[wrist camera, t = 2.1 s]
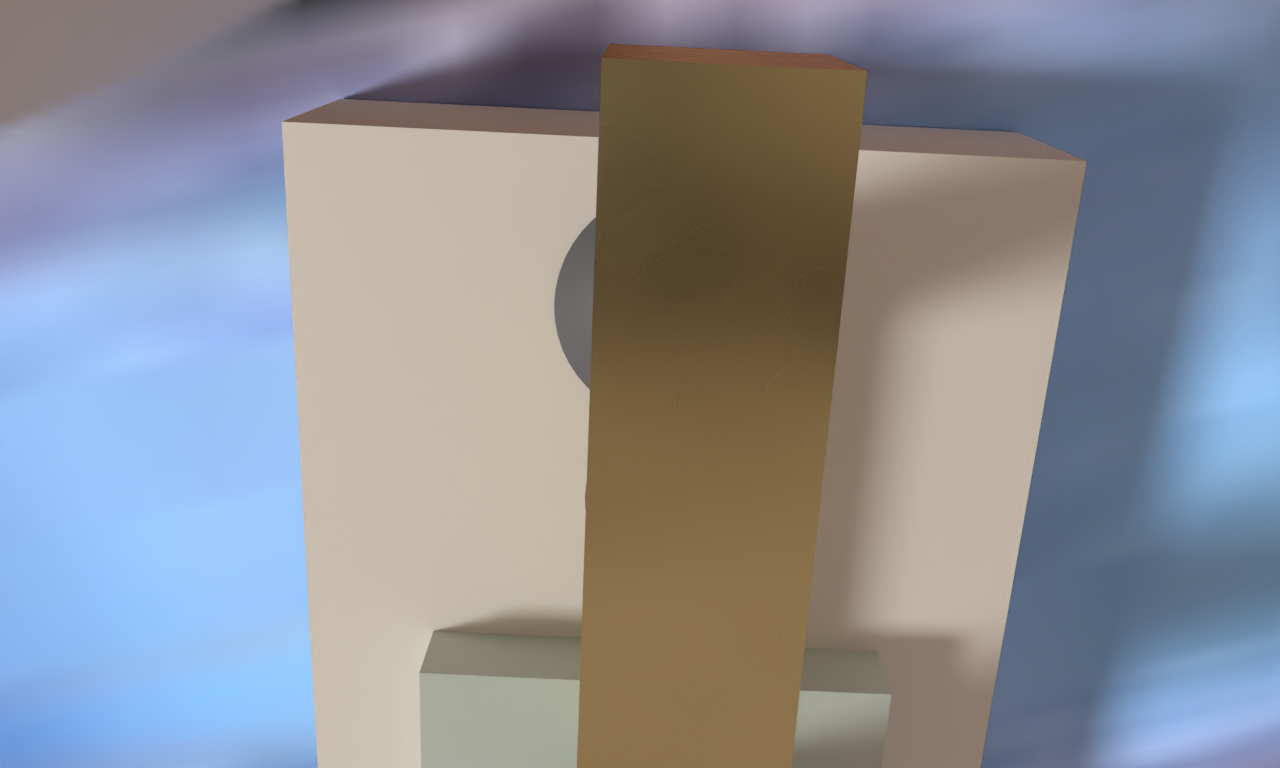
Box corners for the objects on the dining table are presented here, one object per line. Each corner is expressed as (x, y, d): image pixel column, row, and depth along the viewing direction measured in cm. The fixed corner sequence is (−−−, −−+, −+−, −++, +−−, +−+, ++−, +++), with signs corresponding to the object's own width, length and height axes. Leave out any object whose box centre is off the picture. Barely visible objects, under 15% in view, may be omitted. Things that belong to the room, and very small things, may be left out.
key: (620, 18, 19) (590, 57, 9) (765, 25, 19) (880, 71, 9) (593, 710, 23) (552, 1209, 14) (710, 715, 23) (750, 1218, 14)
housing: (340, 98, 24) (278, 122, 20) (1017, 132, 24) (1090, 162, 20) (369, 844, 30) (327, 974, 26) (904, 868, 30) (941, 1001, 26)
